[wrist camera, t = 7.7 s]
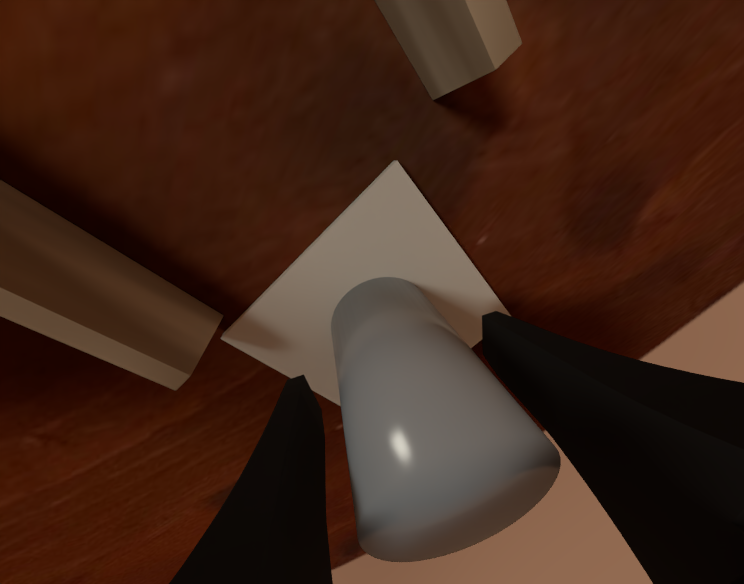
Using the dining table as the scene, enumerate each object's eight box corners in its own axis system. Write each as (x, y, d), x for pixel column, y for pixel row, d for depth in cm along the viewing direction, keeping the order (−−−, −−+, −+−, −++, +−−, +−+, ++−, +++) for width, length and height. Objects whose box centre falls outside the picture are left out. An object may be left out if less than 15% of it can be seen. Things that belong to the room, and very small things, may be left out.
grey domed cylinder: (318, 292, 11) (331, 489, 4) (425, 265, 11) (580, 404, 5) (353, 403, 14) (391, 607, 8) (435, 378, 15) (534, 550, 8)
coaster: (373, 419, 16) (375, 425, 16) (223, 333, 11) (220, 338, 11) (506, 312, 14) (511, 316, 14) (394, 160, 10) (397, 160, 9)
